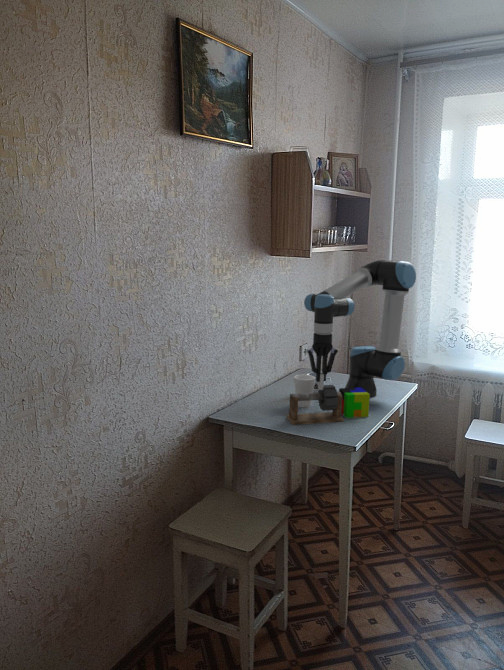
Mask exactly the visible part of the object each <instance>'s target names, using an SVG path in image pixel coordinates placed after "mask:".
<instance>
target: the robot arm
mask: <svg viewBox="0 0 504 670" xmlns="http://www.w3.org/2000/svg"><path fill="white" fill-rule="evenodd" d="M416 281H417V273H416V269H415V267H414V265H413V264H412V263H411V262H410V261H403V260H389V259H388V260H386V259H378V260H375V261H372V262H368V263H366V264H364V265H362V266H361V267H359V268H358V269H356V271H355V273H353V274H351V275H349V276H347V277H345V278H344V279H343V280H340V281H338V282H337V283H335V284H334V285H332V286H330V287H328V288H326V289H324V290H323V291H321V292H319V293H317V294H315V293H310V294H308V295H306V297H305V298H304V300H303V301H304V302H303V303H304V308H305V309H306V311H308V312H312V313H314V315H313V316H314V322H313V323H314V324H313V343H312V346H311V348H309V349H306V353H307V354H308V358H309V362H310V368H311V371H312V373H313V374H315V382H317V389H318V390H323V387H324V383H325V382H326V381H327V374H328V373H331V372H332V369H333V364H334V362H335V357H336V355H337V353H338V349H336V348H334V346H333V327H334V326H333V324H334V318H337V317H338V318H339V317H347V316H350V315H352V314H353V313H354V312H355V303H354V300H353V299H351V298H350V297H349V296H351V295H353V294H355V293H356V292H359V290H362V289H363V288H369V287H371V286H382V291H383V293H384V294H385V295H384V301H383V310H382V317H381V319H382V320H381V325H380V335H379V343H378V345H377V347H375V346H373V345H362V346H355V347H352V348H351V349H350V355H349V376H348V379H347V382H346V385H345V387H344V388H362V389H364V390H365V391H366V392H368V393H369V394H370V398H374V397H375V396H377V392H378V391H377V386H376V383H375V379H374V377H376V378H379V379H384V380H386V381H387V380H388V381H396V380H397V379H399V378H400V376H401V375H402V374H403V373H404V370H405V366H406V361H405V358H404V357H403V356H401V354H402V351H401V349H400V348H399V342H400V335H401V326H402V320H403V319H402V318H403V311H404V305H405V303H404V302H405V296H406V295H407V294H408V293H409V292H410V289H411V288H413V287H414V285H415V283H416ZM314 353H315V356H316V360H315V357H314ZM329 353H330V355H329ZM315 361H316V362H315Z"/></svg>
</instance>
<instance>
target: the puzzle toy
mask: <svg viewBox="0 0 504 670" xmlns="http://www.w3.org/2000/svg"><path fill="white" fill-rule="evenodd" d="M338 390H339V391H338V392H341V395H342V411H341V415H342V416H343V417H345V418H348V419H349V418H367V417H369V415H370V414H369V413H370V399H371V397H370V394H369V393H368V392H366V391H365V390H364V389H362V388H345V387H340V388H339V389H338Z"/></svg>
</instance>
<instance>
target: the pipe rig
mask: <svg viewBox="0 0 504 670" xmlns="http://www.w3.org/2000/svg"><path fill="white" fill-rule="evenodd" d="M337 395H338V396H337V398H338V405H337V408H336V409H335V410H331V411H327V412H310V413H308V412H307V413H298V408H299V406H298V401H310V400H311V401H318V400H324V396H323V393H318V392H313V393H303V394H295V393H290V394H289V410H288V411H289V413H288V414H286V419H287V420H288V421H289V423H291V424H292V425H293V426H295V425H296V426H297V425H310V424H311V425H313V424H328V423H344V422H345V418H343V416H342V413H341V411H342V395H341V392H339V391H337Z"/></svg>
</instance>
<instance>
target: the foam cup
mask: <svg viewBox="0 0 504 670" xmlns="http://www.w3.org/2000/svg"><path fill="white" fill-rule="evenodd" d="M293 384H294V394H303V393H314V389H315V384H316V376H314V375H311V374H296V375H294V377H293ZM311 405H312V400H310V401H298V408H310V407H311Z"/></svg>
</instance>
